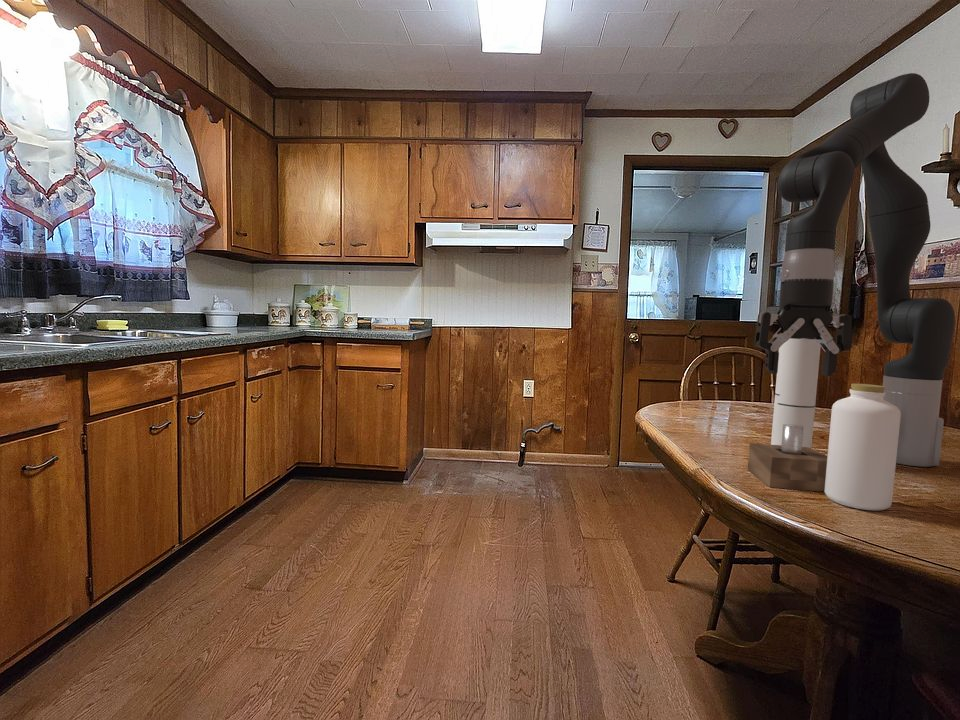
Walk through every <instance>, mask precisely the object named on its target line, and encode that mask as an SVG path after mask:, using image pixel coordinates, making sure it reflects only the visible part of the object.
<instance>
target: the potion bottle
mask: <svg viewBox="0 0 960 720" xmlns="http://www.w3.org/2000/svg"><path fill="white" fill-rule="evenodd" d="M850 385H851V388H849V394H850V396H848V397H845V398H841V399H838V400H837V401H835V402H834V403H833V404H832V406H831V413H830V414H831V415H830V416H831V417H830V423H829V424H830V425H829V426H830V427H829V437H828V447H827V456H828V457H827V468H826V480H825V491H824V494H825V496H827V498H828V499H829V500H831V501H832V502H834V503H836V504H839V505H842V506H845V507H849V508H853V509H858V510H865V511H874V512H875V511H878V512H879V511H884V510H887V509H889V508H890V507H891V506H892V505H893V504H892V503H893V497H894V495H893V494H894V487H895V477H896V476H895V475H896V467H897V463H896V457H897V447H898V437H899V427H900V418H901V413H900V410H899V409H898V407H896V406H895V405H893V404H891V403H889V402H887V401H885V400H884V396H885V394H886V392H884V389H885V387H884V386H883V385H878V384H869V383H851V384H850Z"/></svg>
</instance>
